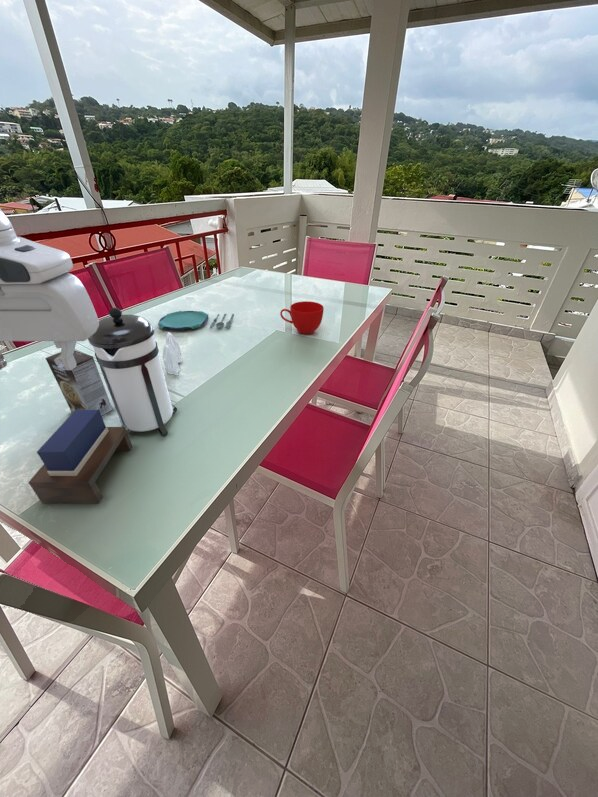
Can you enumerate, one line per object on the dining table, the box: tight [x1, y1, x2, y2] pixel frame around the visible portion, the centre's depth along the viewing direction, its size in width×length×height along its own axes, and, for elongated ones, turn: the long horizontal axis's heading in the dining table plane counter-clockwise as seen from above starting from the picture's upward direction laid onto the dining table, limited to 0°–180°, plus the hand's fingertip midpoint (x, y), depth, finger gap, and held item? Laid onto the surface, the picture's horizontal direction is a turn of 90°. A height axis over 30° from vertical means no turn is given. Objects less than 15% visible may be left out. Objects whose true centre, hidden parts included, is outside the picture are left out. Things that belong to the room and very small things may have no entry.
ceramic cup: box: [279, 300, 325, 335], centre depth 130 cm, size 13×17×10 cm
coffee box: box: [45, 349, 113, 417], centre depth 84 cm, size 9×6×16 cm
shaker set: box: [162, 332, 183, 377], centre depth 105 cm, size 12×4×11 cm, turn 8°
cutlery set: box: [157, 310, 235, 330], centre depth 138 cm, size 20×30×2 cm, turn 89°
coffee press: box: [87, 307, 178, 437], centre depth 77 cm, size 17×16×30 cm
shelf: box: [28, 426, 134, 504], centre depth 69 cm, size 11×16×6 cm
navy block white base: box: [36, 410, 109, 476], centre depth 65 cm, size 13×5×6 cm, turn 0°
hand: (33, 368), depth 44 cm, fingers open, 8 cm apart
